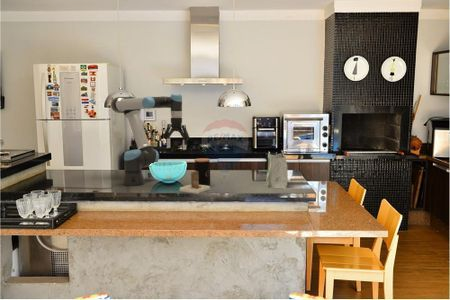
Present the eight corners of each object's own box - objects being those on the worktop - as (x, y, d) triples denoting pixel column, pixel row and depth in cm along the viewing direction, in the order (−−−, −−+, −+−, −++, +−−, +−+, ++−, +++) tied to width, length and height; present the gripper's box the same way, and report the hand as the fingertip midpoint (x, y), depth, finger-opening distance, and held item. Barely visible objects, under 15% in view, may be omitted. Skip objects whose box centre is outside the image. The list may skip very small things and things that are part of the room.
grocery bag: (265, 178, 325) (265, 147, 322) (284, 178, 324) (284, 147, 321) (267, 188, 293) (267, 153, 290) (288, 188, 292) (288, 153, 289)
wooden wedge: (191, 190, 285) (191, 171, 283) (195, 188, 289) (195, 170, 287) (194, 190, 283) (194, 172, 282) (198, 189, 287) (198, 171, 286)
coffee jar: (208, 187, 296) (208, 160, 294) (193, 186, 298) (192, 160, 296) (211, 184, 306) (211, 158, 304) (197, 183, 309) (196, 158, 306)
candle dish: (179, 191, 284) (179, 187, 284) (192, 187, 296) (192, 183, 295) (197, 194, 277) (197, 189, 276) (209, 189, 288) (209, 185, 288)
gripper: (158, 116, 298) (158, 147, 301) (188, 118, 285) (188, 151, 288) (165, 116, 304) (165, 146, 307) (194, 117, 291) (194, 149, 294)
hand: (176, 148), depth 297 cm, fingers open, 13 cm apart
